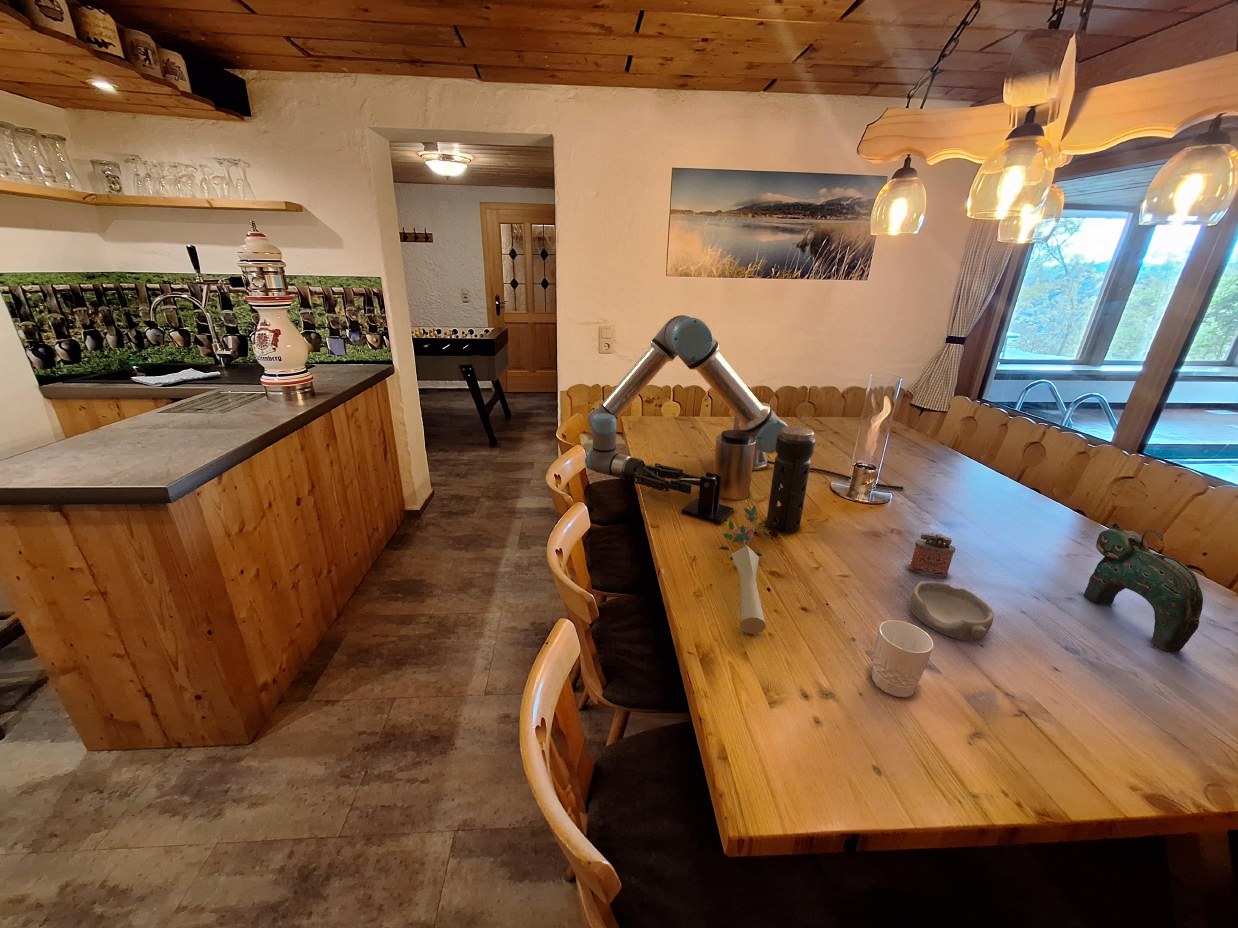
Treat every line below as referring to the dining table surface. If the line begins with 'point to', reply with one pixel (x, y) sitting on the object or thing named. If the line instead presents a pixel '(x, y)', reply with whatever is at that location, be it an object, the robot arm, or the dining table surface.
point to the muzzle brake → (790, 478)
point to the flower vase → (747, 575)
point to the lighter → (932, 556)
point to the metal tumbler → (734, 463)
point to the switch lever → (685, 480)
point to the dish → (951, 610)
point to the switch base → (709, 501)
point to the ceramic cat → (1148, 584)
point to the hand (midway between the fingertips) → (695, 485)
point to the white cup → (900, 657)
